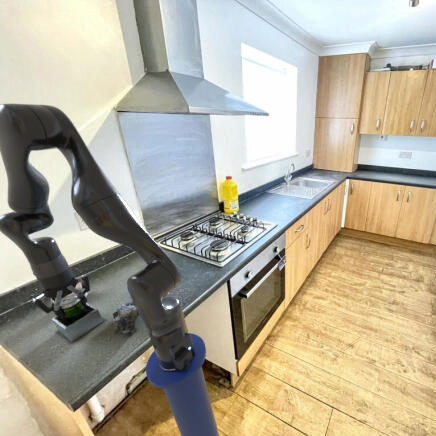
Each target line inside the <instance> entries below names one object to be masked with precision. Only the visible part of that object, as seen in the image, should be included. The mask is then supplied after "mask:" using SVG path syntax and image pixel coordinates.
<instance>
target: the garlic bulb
mask: <svg viewBox="0 0 436 436" xmlns="http://www.w3.org/2000/svg"><path fill="white" fill-rule="evenodd" d="M75 288H76V289H78V290H79V291H81V290H82V284H81V282H79V281H78V282H77V285H76V287H75ZM89 294H90V291H89V292H87V293H85V297H86V298H87V297H88V296H89ZM70 295H77V294H76V293H74V292H73V293H72V294H69V295H67V296H70ZM77 296H78V295H77Z"/></svg>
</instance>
